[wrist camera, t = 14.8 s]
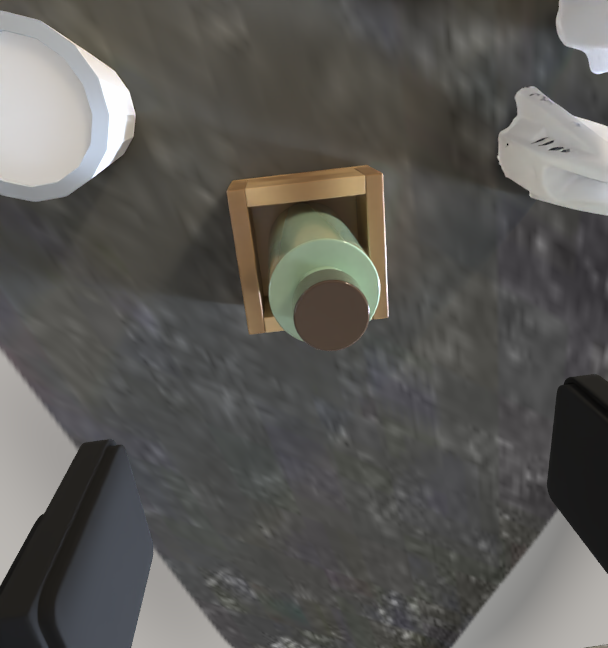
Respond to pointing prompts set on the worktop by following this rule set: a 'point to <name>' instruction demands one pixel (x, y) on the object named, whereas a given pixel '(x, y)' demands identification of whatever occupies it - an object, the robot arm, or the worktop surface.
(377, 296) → the bottle
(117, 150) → the white cup
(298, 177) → the box
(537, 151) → the shaker set
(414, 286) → the worktop surface
